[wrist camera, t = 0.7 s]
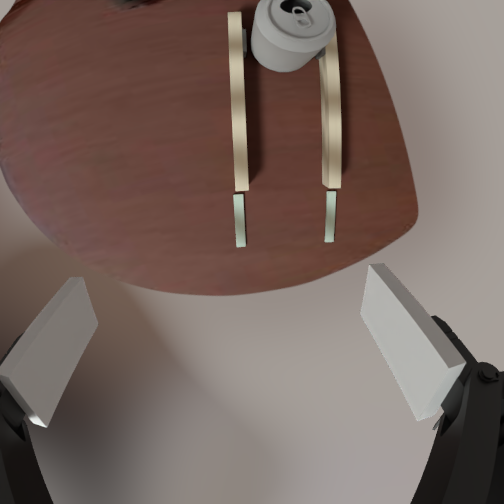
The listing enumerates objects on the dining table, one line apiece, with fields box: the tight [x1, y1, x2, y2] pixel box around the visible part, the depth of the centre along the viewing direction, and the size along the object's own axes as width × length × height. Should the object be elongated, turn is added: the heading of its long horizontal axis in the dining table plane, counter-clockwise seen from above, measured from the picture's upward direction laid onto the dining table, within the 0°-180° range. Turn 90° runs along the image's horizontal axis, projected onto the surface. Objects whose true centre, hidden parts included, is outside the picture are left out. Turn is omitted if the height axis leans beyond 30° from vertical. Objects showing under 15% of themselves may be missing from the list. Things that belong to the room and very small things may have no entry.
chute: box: [228, 12, 341, 247], centre depth 32 cm, size 30×13×3 cm, turn 2°
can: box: [251, 0, 336, 72], centre depth 23 cm, size 8×8×12 cm
